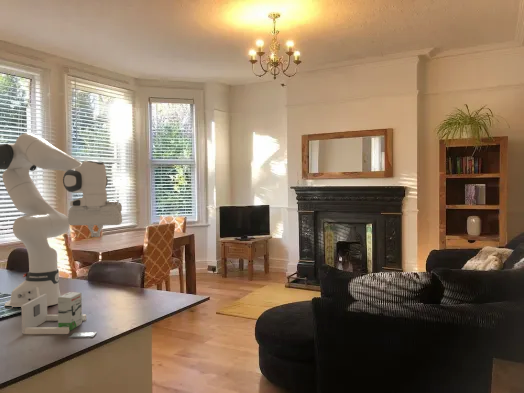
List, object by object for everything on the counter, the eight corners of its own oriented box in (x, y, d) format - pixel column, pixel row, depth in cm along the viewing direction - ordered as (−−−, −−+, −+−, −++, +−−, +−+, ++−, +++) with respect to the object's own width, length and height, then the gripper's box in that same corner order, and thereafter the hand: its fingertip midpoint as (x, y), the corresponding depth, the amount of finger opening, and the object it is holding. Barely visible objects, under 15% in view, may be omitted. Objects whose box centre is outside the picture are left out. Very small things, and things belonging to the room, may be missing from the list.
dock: (22, 334, 159) (21, 305, 159) (44, 319, 175) (44, 293, 175) (68, 333, 159) (67, 305, 158) (86, 319, 175) (85, 293, 174)
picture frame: (68, 340, 154) (68, 336, 154) (73, 335, 159) (73, 332, 159) (92, 339, 155) (92, 336, 155) (96, 335, 159) (96, 331, 159)
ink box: (70, 331, 162) (70, 297, 162) (57, 330, 163) (56, 297, 162) (82, 323, 171) (82, 291, 170) (70, 322, 171) (69, 291, 171)
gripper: (124, 200, 182) (124, 235, 182) (72, 201, 182) (73, 235, 183) (118, 201, 176) (119, 237, 176) (65, 201, 176) (66, 237, 176)
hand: (95, 236), depth 179 cm, fingers closed
